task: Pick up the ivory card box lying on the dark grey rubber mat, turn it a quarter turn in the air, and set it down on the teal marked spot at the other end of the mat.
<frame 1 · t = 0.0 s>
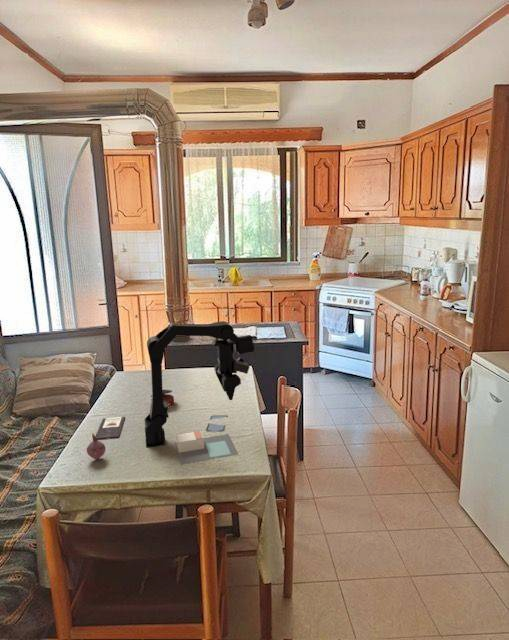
hand: (228, 395, 176), 15 cm above the table, tool pointing down, fingers open, 9 cm apart
chocolate bar: (110, 429, 186), on the table
vegetable: (97, 459, 162), on the table
mat: (205, 449, 166), on the table
canned food: (163, 405, 207), on the table
smartphone: (217, 425, 186), on the table
card box: (190, 446, 167), resting on mat
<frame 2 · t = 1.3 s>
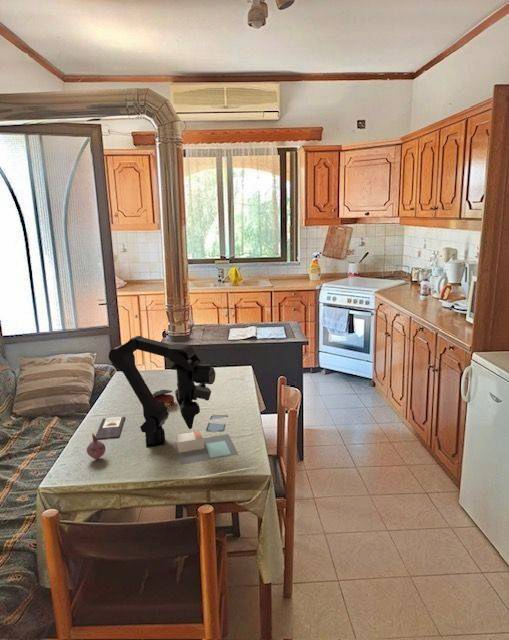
hand: (188, 423, 165), 10 cm above the table, tool pointing down, fingers open, 9 cm apart
nothing on the table moved.
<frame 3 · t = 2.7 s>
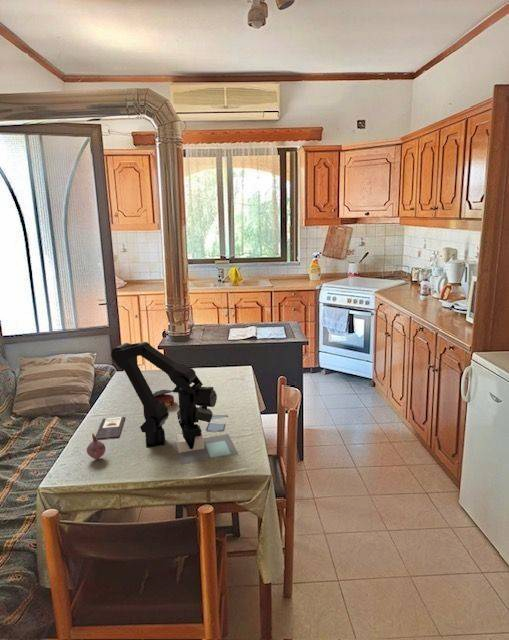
hand: (190, 444, 167), 1 cm above the table, tool pointing down, fingers closed on card box, 6 cm apart
card box: (190, 446, 167), resting on mat, touching gripper
everything else where it was.
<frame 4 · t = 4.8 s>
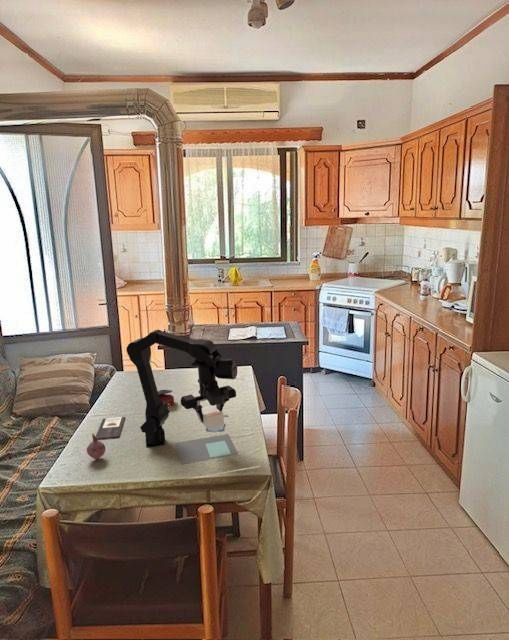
hand: (210, 419, 163), 12 cm above the table, tool pointing down, fingers closed on card box, 6 cm apart
card box: (210, 421, 163), point 11 cm above the table, touching gripper
everything else where it was.
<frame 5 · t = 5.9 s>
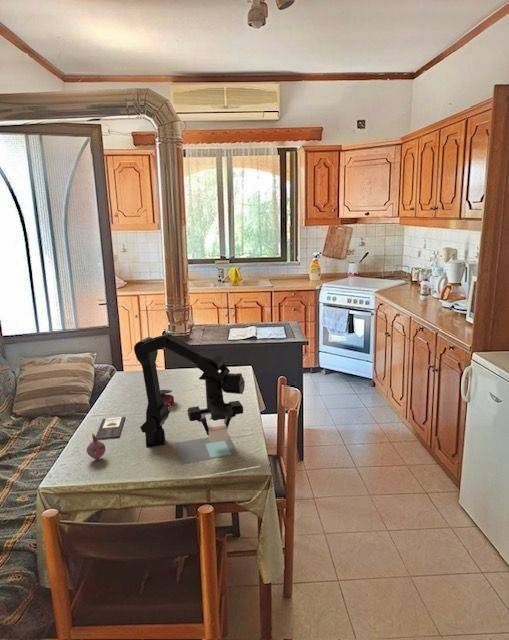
hand: (216, 433, 164), 7 cm above the table, tool pointing down, fingers closed on card box, 6 cm apart
card box: (216, 435, 164), point 6 cm above the table, touching gripper
everything else where it was.
when the fingers open (3 cm above the table, at t = 7.0 s): card box drops 1 cm, resting on mat.
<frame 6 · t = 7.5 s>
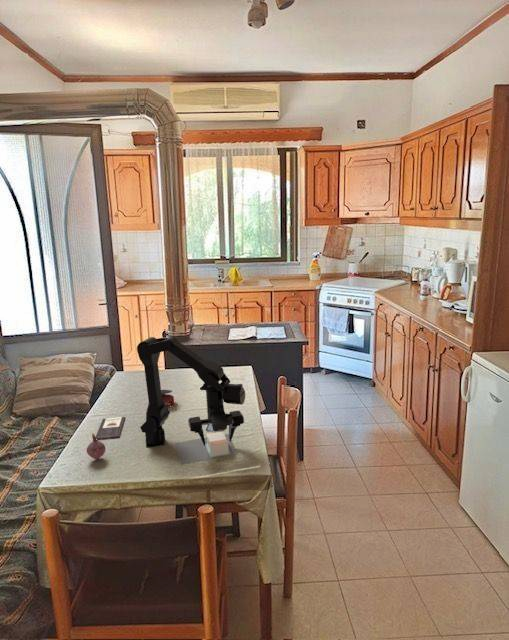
hand: (217, 443, 165), 3 cm above the table, tool pointing down, fingers open, 9 cm apart
card box: (217, 448, 165), point 1 cm above the table, touching mat
everything else where it was.
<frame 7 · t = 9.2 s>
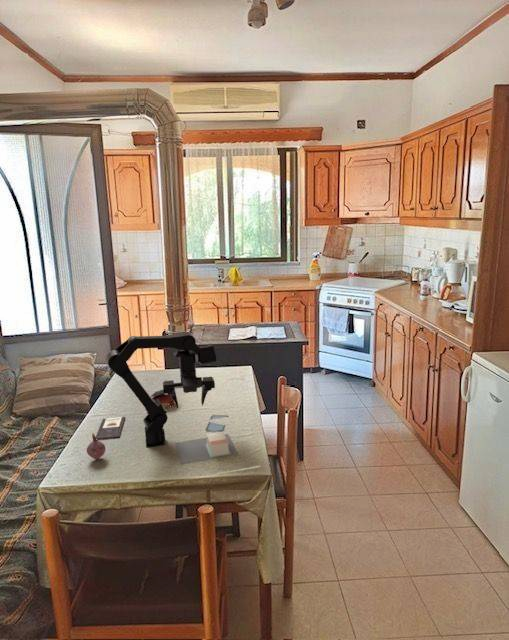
hand: (190, 406, 174), 12 cm above the table, tool pointing down, fingers open, 9 cm apart
nothing on the table moved.
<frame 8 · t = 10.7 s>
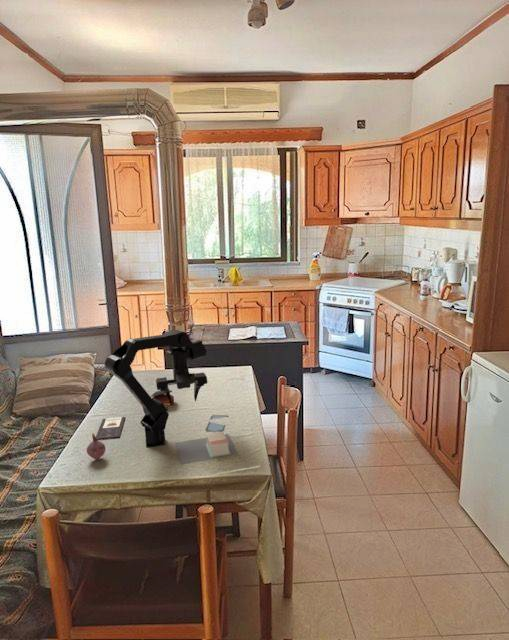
hand: (183, 402, 178), 12 cm above the table, tool pointing down, fingers open, 9 cm apart
nothing on the table moved.
at the end: card box 0.0 cm from the target spot on the mat, point 0.6 cm above the mat's base; card box tilted 0°; the gripper is holding nothing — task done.
